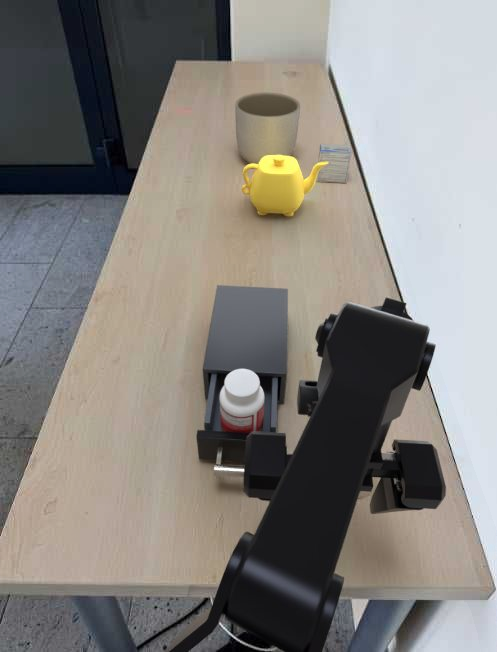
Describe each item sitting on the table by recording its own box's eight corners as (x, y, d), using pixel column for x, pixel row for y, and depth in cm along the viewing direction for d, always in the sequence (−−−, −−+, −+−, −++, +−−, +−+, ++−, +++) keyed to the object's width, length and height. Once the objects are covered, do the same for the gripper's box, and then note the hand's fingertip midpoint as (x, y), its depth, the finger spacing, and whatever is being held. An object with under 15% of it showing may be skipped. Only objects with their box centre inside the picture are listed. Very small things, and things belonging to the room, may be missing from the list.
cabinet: (283, 404, 77) (287, 374, 72) (205, 399, 78) (202, 369, 72) (285, 319, 91) (287, 288, 86) (218, 315, 92) (217, 284, 86)
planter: (229, 169, 133) (228, 112, 122) (243, 143, 145) (243, 89, 134) (290, 176, 130) (294, 119, 120) (299, 149, 142) (304, 95, 131)
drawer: (278, 492, 66) (280, 470, 62) (194, 486, 66) (191, 465, 62) (281, 365, 82) (283, 342, 78) (213, 361, 82) (212, 338, 78)
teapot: (243, 190, 125) (244, 142, 116) (321, 194, 124) (328, 145, 115) (238, 219, 115) (238, 169, 106) (323, 223, 114) (330, 173, 105)
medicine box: (345, 175, 131) (350, 144, 125) (346, 184, 128) (351, 152, 122) (316, 174, 132) (320, 143, 126) (316, 182, 128) (320, 150, 122)
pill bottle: (247, 405, 75) (248, 357, 67) (271, 433, 71) (275, 387, 63) (213, 424, 72) (209, 376, 64) (235, 454, 68) (235, 408, 61)
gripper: (440, 361, 47) (403, 447, 58) (250, 351, 48) (248, 438, 59) (471, 464, 40) (421, 541, 50) (243, 450, 40) (242, 529, 51)
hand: (329, 506), depth 53 cm, fingers open, 9 cm apart
